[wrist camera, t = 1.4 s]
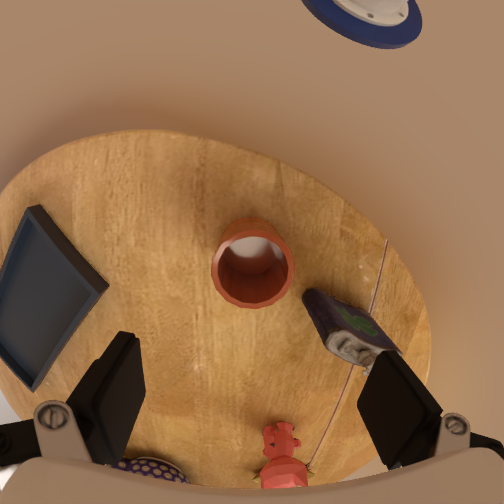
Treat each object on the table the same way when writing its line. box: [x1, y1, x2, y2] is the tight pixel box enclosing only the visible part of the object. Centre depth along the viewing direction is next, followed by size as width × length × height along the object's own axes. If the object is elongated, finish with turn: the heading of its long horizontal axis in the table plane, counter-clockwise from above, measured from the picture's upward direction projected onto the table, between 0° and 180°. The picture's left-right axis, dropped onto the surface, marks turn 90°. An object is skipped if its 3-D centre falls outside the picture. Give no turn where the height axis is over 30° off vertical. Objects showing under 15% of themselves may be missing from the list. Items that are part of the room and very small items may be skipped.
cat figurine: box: [260, 422, 311, 489], centre depth 29 cm, size 7×7×12 cm
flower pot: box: [211, 217, 295, 309], centre depth 24 cm, size 6×6×7 cm
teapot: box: [106, 457, 190, 484], centre depth 31 cm, size 25×15×15 cm, turn 45°
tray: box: [0, 205, 109, 393], centre depth 27 cm, size 30×14×3 cm, turn 133°
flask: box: [302, 287, 402, 376], centre depth 24 cm, size 9×3×11 cm, turn 63°
